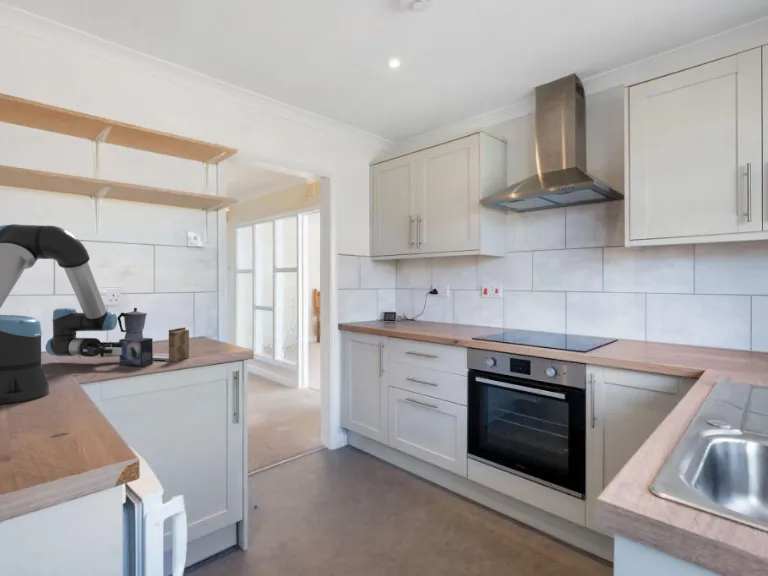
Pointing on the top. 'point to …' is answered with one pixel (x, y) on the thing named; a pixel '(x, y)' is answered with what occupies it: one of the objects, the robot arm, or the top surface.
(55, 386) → the top surface
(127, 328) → the moka pot
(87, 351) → the robot arm
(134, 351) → the small box
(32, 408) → the top surface
